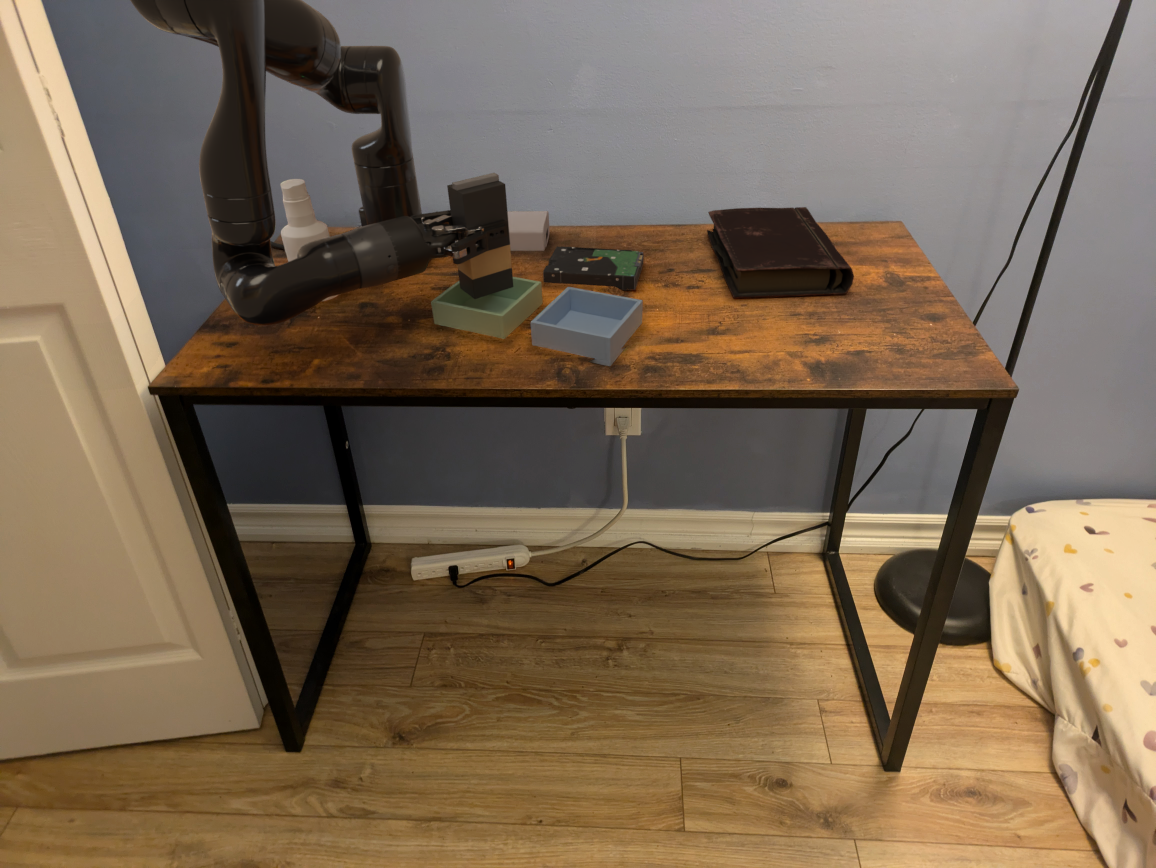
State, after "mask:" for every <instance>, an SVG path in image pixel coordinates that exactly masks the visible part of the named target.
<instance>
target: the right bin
mask: <svg viewBox="0 0 1156 868" xmlns="http://www.w3.org/2000/svg"><path fill="white" fill-rule="evenodd" d="M643 302H644V301H643V299H639V298H633V297H627V296H623V295H617V294H611V293H606V292H605V293H604V292H601V291H600V292H599V291H595V290H589V289H584V288H579V287H578V288H577V287H572V286H567V287H566V288H565V289H564V290H562V291H561V292H560V293H559V295H557V296H556V297H555V298H554V299H553V300H552V301H551V302H549V304H548V305H546V307H544V308H543V310H541V311H540V312H539V313H537V315H536V316H535V317H534V318H533V319H532V320H531V321H530V323H529V324H530V335H531V336H530V337H531V345H532V346H536V347H540V348H544V349H549V350H554V351H558V352H561V353H562V352H563V353H568V354H571V355H577V356H581V357H586V358H591V360H588V363H592V364H597V365H601V366H606V367H611V366H612V365H613V364H614V363H615V362H616V360H617V359H618V358H619V357H620V356H621V354H622V353H623V351H624V350H625V349H626V348H627V346H625V345H626V343H627V342H628V341H629V339H631V337H632V336H633V335H634V334H635V332H636V331H637V330H638V329H639V328H640V326H641V325H642V324H643V309H644V303H643Z"/></svg>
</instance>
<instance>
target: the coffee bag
mask: <svg viewBox="0 0 1156 868" xmlns="http://www.w3.org/2000/svg"><path fill="white" fill-rule="evenodd" d="M446 187H447V195H448V203H449V210H450V212H451V217H452V221H453V226H455V225H462V224H463V225H465V226H466V228H471V227H474V226H482V225H484V224H488V223H492V222H496V221H499V220H505V221H507V222H508V212H507V211H508V202H507V189H506V183H504V182H502V181H501V180H500V176H499V173H496V172H492V173H487V174H483V175H478V176H474V177H470V178H466V179H461V180H457V181H453V182H451V184H447V185H446ZM508 227H509V224H508ZM473 234H475V233H473ZM473 234H469V235H468V236H470V235H473ZM458 238H459V240H461V233H460V232H458ZM476 248H477V247H476ZM511 252H512V251H510V237H509V234H508V236H506V237H503V238H499V239H496V240H492V241H489V242H488V251H486V252H484V253H482V254H480V255H478V256H476V257H474V258H472V259H470V260H467V261H465V262H463V263H461V264H456V265H457V273H458V281H459V282H460V289H462V290H463V291H464V292H466V293H467V294H468V295H470V296H471V297H472V298H474V299H477V298H481V297H484V296H487V295H490V294H493V293H496V292H499V291H503V290H506V289H509V288H512V287H513V277H514V275H513V265H512V253H511Z"/></svg>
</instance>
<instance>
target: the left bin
mask: <svg viewBox="0 0 1156 868" xmlns="http://www.w3.org/2000/svg"><path fill="white" fill-rule="evenodd" d="M542 284H543V283H542V281H540V280H534V279H528V278H523V277H518V276H517V277H516V276H513V287H512V288H509V289H506V290H503V291H499V292H496V293H493V294H490V295H487V296H484V297H481V298H477V299H474V298H472V297H471V296H470V295H468V294H467V293H466V292H464V291H463V290H462V289H460V282H459V280H458V281H456V282H455V283H454V284H452V285H451V286H450V287H448V288H447V289H446V290H445V291H443V292H442V293H440V294H439V295H437V297H436V296H435V298H433V299H432V300H431V301H430V305H431V312H432V317H433V324H434V325H438V326H443V327H448V328H452V329H457V330H460V331H466V332H471V333H475V334H479V335H485V336H490V337H494V338H498V339H502V340H504V339H507V338H508V337H509V336H510V335H511V333H513V332H514V331H515V330H516V329H517V328H518V327H519V326H520V325H521V324H522V323H523V322H525V321H526V320H527V319H528V318H529V317H530V316H531V315H533V314H534V313H535V311H537V309H538V308H540V307H541V306H542V305H543V303H544V302H543V301H544V300H543V285H542Z"/></svg>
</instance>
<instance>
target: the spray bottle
mask: <svg viewBox="0 0 1156 868" xmlns="http://www.w3.org/2000/svg"><path fill="white" fill-rule="evenodd" d="M279 185H280V189H281V193H282V203H283V208H284V211H285V217H286V221H287V224H286V225H285V226H284V227H282V228H281V230H280V236H281V240H282V245H284V248H285V249H284V252H285V255H286V259H287V262H289V261H292V260H294V259H296V258H297V254H298V251H299V249H300V248H301V247H302V246H303V245H305V244H307V243H309V242H312V241H315V240H319V239H323V238H327V237H331V236H330V231H329V227H328V224H326V223H325V222H324V221H322V220H319V219H317V218H316V213H315V209H314V208H313V204H312V203H313V202H312V199H311V196H310V194H309V192H308V190H307V185H306V180H304V179H302V178H290V179H286V180H284V181H281V182H280V184H279ZM338 296H339V295H336V296H331V297H328V298H326V299H324V300H323V301H322V302H326V301H329V300H332V299H334V298H336V297H338Z"/></svg>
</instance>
